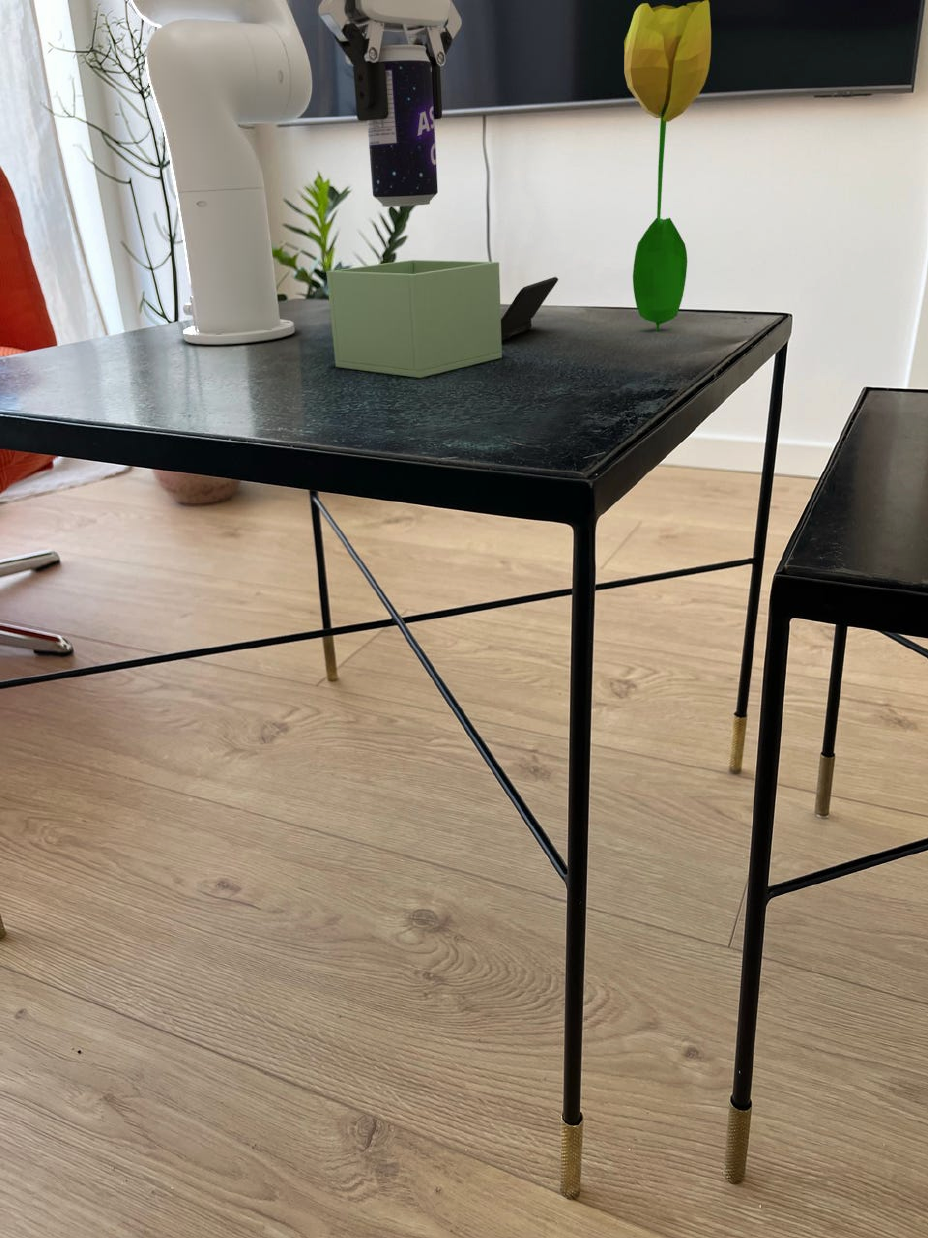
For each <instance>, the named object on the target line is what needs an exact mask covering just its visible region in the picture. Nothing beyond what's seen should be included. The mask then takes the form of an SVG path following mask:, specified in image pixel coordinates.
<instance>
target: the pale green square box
mask: <svg viewBox="0 0 928 1238" xmlns="http://www.w3.org/2000/svg"><path fill="white" fill-rule="evenodd" d="M325 273H326V282H327V291H328V302H329V312H330V322H331V332H332V333H331V334H332V342H333V353H334V361H335V368H340V369H348V370H354V371H355V370H356V371H363V372H364V371H365V372H372V373H378V374H385V375H392V376H393V375H394V376H402V377H410V378H416V379H422V378H425V377H429V376H434V375H438V374H442V373H447V372H450V371H454V370H458V369H462V368H466V367H470V366H473V365H478V364H482V363H487V362H490V361H494V360H499V359H502V358H503V355H502V354H503V352H502V351H503V350H502V348H503V347H502V341H501V319H502V317H501V315H502V313H501V289H500V288H501V282H500V281H501V279H500V262H499V261H469V260H468V261H466V260H432V259H410V260H402V261H394V262H387V263H380V264H372V265H371V264H370V265H364V266H363V265H362V266H358V267H357V266H355V267H349V268H342V269H341V268H340V269H334V270H326V271H325Z"/></svg>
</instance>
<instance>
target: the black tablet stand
mask: <svg viewBox="0 0 928 1238" xmlns="http://www.w3.org/2000/svg"><path fill="white" fill-rule="evenodd" d="M558 281H559V278H558V277H557V276H554V277H550V278H548V279H544V280H542V281H538V282H534V283H532V284H529V285H526V286H524V287H522V288H521V289H520V290H519V292H518V293H517V294H516V296H515V297H514V299H513V301H512V303H510V306H509V307H508V308H507V310H506V312H505V313H504V314H503V316H502V317H501V342H503V341H505V340H508V339H510V338H511V337H512V336H514V335H519V334H522V333H523V332H525V331H528V330H530V329H531V328H532V326H533V325H532V324H533V323H532V319H533V318H534V317H535V315H536V314H537V312H538V310H539V309H540V308H541V306H542V305H543V304H544V302H545V300H546V299H547V297H548V296H549V294H550V293H551V292H552V290H553V289H554V287H555V286H556V284H557V283H558Z"/></svg>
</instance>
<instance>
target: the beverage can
mask: <svg viewBox="0 0 928 1238" xmlns="http://www.w3.org/2000/svg"><path fill="white" fill-rule="evenodd" d="M425 51H426V47H425V46H424V45H423V46H421V45H408V44H388V45H381V47H380V53H379V58H378V61H377V63H384V66H385V70H386V85H387V100H388V116H387V118H386V119H380V120H369V121H367V133H368V134H367V135H368V149H369V162H370V174H371V175H370V176H371V187H372V188H371V189H372V196H373V197H374V198H375V199H376V200H377V201H378V202H379V203H380V204H381V206H382V207H383V208H385V207H387V208H389V207H390V208H391V207H392V208H394V207H414V206H417V207H418V206H427V205H431V201H432V200H434V198H435V196H436V195H437V194H438V170H437V169H438V168H437V149H436V147H437V146H436V133H435V132H436V129H435V127H436V126H435V120H434V106H433V85H432V65H431V63H430V61H429V59H428V56H427V54H426V52H425Z"/></svg>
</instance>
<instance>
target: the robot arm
mask: <svg viewBox="0 0 928 1238" xmlns="http://www.w3.org/2000/svg"><path fill="white" fill-rule="evenodd" d="M130 2H131V4H132V6H133V8H134V9H135V11H136V13H137V14H138V15H139V16H140V18H141V19H143V20H144V21H145V22H146V23H148V24H150V25H152V26H155V27H157V29H156V30H155V31H154V32H153V33H152V34H151V37H150V38H149V40H148V43H147V46H146V51H145V70H146V75H147V79H148V80H147V81H148V83H149V86H150V87H149V88H150V90H151V93H152V97H153V100H154V102H155V106H156V109H157V111H158V115H159V118H160V122H161V126H162V130H163V133H164V137H165V142H166V146H167V150H168V154H169V162H170V166H171V167H170V168H171V173H172V179H173V185H174V192H175V196H176V202H177V208H178V215H179V221H180V228H181V235H182V240H183V247H184V254H185V260H186V267H187V273H188V279H189V280H188V281H189V287H190V292H191V296H189V300H190V303H189V302H188V303H187V302H186V303H185V304H184V305H183V306H182V311H183V313H184V315H186V316H192V321H193V326H190V327H187V328H185V329H184V330H183V332H182V333H183V339H184V341H185V342H187V343H190V344H195V345H235V344H236V345H238V344H249V343H259V342H264V341H272V340H277V339H282V338H285V337H289V336H291V335H293V334H294V333H295V331H296V329H295V323H294V322H293V321H291V320H288V319H281V317H280V316H281V315H280V307H279V299H278V290H277V282H276V273H275V266H274V257H273V248H272V241H271V232H270V225H269V224H270V223H269V216H268V206H267V200H266V190H265V184H264V183H265V182H264V176H263V170H262V167H261V164H260V163H261V162H260V160H259V158H258V156H257V154H256V152H255V150H254V148H253V147H252V145H251V143H250V142H249V140H248V139H247V137H246V136H245V134H244V133H243V131H242V130H241V128H240V126H239V125H241V124H242V125H243V124H282V123H288V122H293V121H295V120H297V119H298V118H300V117H301V116H302V115H303V114H304V113H305V112H306V110H307V108H308V107H309V104H310V102H311V99H312V94H313V93H312V92H313V74H312V73H313V72H312V67H311V62H310V59H309V55H308V52H307V48H306V46H305V44H304V41H303V38H302V35H301V33H300V30H299V28H298V26H297V23H296V21H295V19H294V17H293V13H292V11H291V10H290V6H289V4H288V1H287V0H130ZM317 13H318V16H319V17H320V19H321V20H322V22H323V23H324V24H325V25H326V27H327V28H328V29H329V31H330V32H331V33H333V37H334V40H335V41H336V43H337V44H338V46H340V48H341V50H342V51H343V52H344V58H345V62H346V63H347V65H348V66H349V67H352V69H353V70H352V71H353V81H354V82H353V86H354V97H355V109H356V118H357V120H358V121H359V122H366V121H369V120H380V119H386V118H387V116H388V100H387V85H386V70H385V66H384V63H377V61H378V58H379V53H380V47H381V46H382V40H383V34H384V32H396V33H403V32H404V35H405V38H406V42H407V45H421V46H425V47H426V51H425V52H426V54H427V56H428V59H429V61H430V63H431V65H432V85H433V106H434V121H436V120H440V119H442V117H443V104H442V82H441V81H442V79H441V78H442V77H441V67H443V66H444V65H445V63H446V55H447V53H448V52H449V50H450V48H451V46H452V43H453V40H454V39H455V37H456V36H457V34H458V33H459V31H460V30H461V27H462V25H463V19H462V17H461V15H460V13H459V11H458V10H457V8H456V6H455V4H454V3H453V0H321V2H320V3H319V5H318V7H317ZM365 34H366V36H365ZM422 36H424V37H425V40H426V42H425V44H423V40H422Z"/></svg>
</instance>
